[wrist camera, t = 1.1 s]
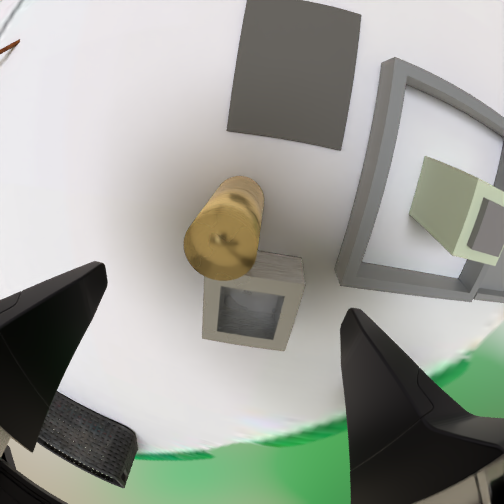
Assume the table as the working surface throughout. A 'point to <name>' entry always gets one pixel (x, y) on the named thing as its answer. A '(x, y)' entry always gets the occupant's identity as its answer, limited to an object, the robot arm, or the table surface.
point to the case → (373, 184)
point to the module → (460, 212)
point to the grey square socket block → (255, 303)
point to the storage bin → (88, 440)
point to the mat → (294, 71)
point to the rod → (227, 231)
